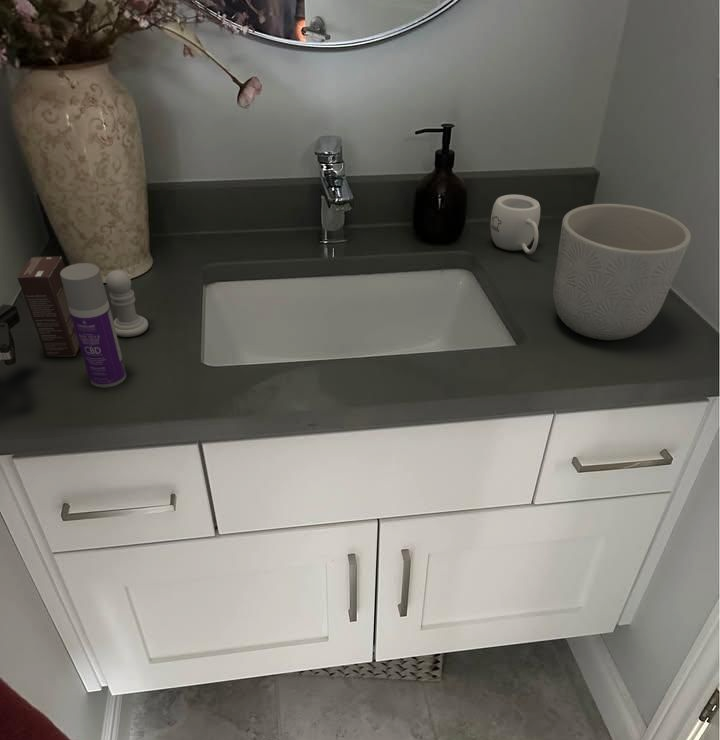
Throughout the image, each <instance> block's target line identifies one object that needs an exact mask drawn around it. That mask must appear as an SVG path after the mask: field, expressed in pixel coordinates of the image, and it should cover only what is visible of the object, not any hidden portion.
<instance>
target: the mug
mask: <svg viewBox="0 0 720 740" xmlns="http://www.w3.org/2000/svg"><path fill="white" fill-rule="evenodd" d="M540 219H541V205H540V203H539V201H538V200H537V199H535V198H533V197H530V196H528V195H523V194H505V195H502V196H499V197H498V198H496V200H495V201H494V202H493V206H492V210H491V215H490V225H489V227H490V236H491V239H492V241H493V243H494V245H495V246H496V247H497V248H499V249H502V250H505V251H511V252H512V251H513V252H515V251H522V250H523V251H524V252H525V254H528V255H532V254H534V253H535V251H536V249H537V247H538V244H539V229H538V227H539V224H540V221H541V220H540ZM532 241H533V242H532ZM531 243H532V246H531V248H530V249H529V248H528V247H529V246H530V244H531Z"/></svg>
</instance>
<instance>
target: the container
mask: <svg viewBox="0 0 720 740" xmlns="http://www.w3.org/2000/svg"><path fill="white" fill-rule="evenodd" d="M60 275H61V279H62V283H63V287H64V291H65V295H66V298H67V302H68V306H69V310H70V314H71V318H72V321H73V324H74V328H75V331H76V335H77V338H78V342H79V345H80V348H79V349H80V351H81V354H82V358H83V362H84V365H85V369H86V372H87V376H88V379H89V382H90V384H91V385H93V387H97V388H103V389H104V388H112V387H115V386H118V385H120V384H122V383H123V382H124V381H125V380H126V378H127V372H126V367H125V364H124V360H123V355H122V352H121V351H122V350H121V348H120V343H119V339H118V335H117V334H116V330H115V326H114V322H113V321H114V318H113V314H112V310H111V306H110V303H109V299H108V296H107V292H106V288H105V285H104V281H103V277H102V274H101V270H100V267H99V266H98V265H97V264H94V263H88V262H80V263H73V264H70V265H67V266H65V268H64V269H63V270H62V271H61V272H60Z"/></svg>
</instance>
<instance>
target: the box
mask: <svg viewBox="0 0 720 740" xmlns="http://www.w3.org/2000/svg"><path fill="white" fill-rule="evenodd" d="M65 267H66V266H65V263H64V260H63V257H62V256H55V255H54V256H52V255H51V256H30V258H29V260H28V261H27V262H26V264H25V265H24V267H23V268H22V269H21V270H20V272H19V273H18V275H17V281H18V283H19V286H20V289H21V291H22V294H23V296H24V299H25V302H26V305H27V308H28V310H29V313H30V316H31V318H32V321H33V324H34V327H35V329H36V332H37V335H38V338H39V341H40V343H41V346H42V348H43V351H44V355H45V357H48V358H49V357H50V358H54V357H56V358H58V357H59V358H63V357H64V358H68V357H76V356H77V354H78V352H79V350H80V349H81V348H80V345H79V342H78V338H77V335H76V331H75V328H74V324H73V321H72V318H71V314H70V310H69V306H68V302H67V298H66V295H65V291H64V287H63V283H62V279H61V275H60V272H61V271H62V270H63V269H64V268H65Z"/></svg>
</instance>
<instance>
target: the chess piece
mask: <svg viewBox="0 0 720 740" xmlns="http://www.w3.org/2000/svg"><path fill="white" fill-rule="evenodd" d="M106 275H107V276H106V279H105V284H106V287H107V288H108V290H109V291H110V292H109V298H110V303H111V305H113V306H114V309H115V313H116V318H115V319H113V322H114V326H115V330H116V334H117V337H122V338H131V337H138V336H140V335H142V334H143V333H145V332H146V331H147V330H148V328H149V321H148V320H147V319H146V318H145V317H144V316H142V315H139V314H137V311H136V306H135V302H136V296H135V292H134V290H133V289H131V288H132V279H131V277H130V276H129V274H128V273H127V272H126V271H124V270H122V269H114V270H112V271H110V272H109V273H108V274H106Z"/></svg>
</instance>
